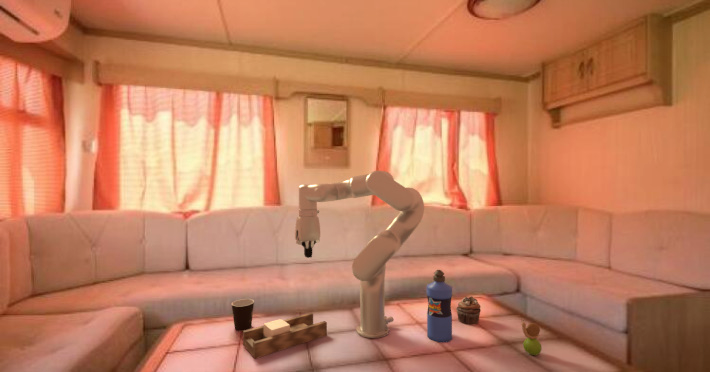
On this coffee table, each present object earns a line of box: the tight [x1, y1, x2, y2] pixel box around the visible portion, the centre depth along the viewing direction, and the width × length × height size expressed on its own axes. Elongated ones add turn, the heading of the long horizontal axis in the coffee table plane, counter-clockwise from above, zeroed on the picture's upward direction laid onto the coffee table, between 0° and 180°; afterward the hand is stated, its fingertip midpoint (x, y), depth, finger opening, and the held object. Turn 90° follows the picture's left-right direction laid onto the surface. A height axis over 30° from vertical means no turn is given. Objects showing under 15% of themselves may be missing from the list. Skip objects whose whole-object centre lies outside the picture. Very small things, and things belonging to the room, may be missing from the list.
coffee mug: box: [231, 298, 255, 332], centre depth 136 cm, size 12×9×10 cm
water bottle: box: [426, 269, 453, 343], centre depth 125 cm, size 9×9×25 cm
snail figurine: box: [520, 318, 543, 356], centre depth 111 cm, size 5×6×12 cm
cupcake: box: [455, 296, 481, 326], centre depth 139 cm, size 10×10×10 cm
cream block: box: [263, 318, 290, 338], centre depth 120 cm, size 7×7×4 cm
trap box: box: [242, 312, 328, 359], centre depth 123 cm, size 28×12×5 cm, turn 127°
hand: (308, 257), depth 140 cm, fingers closed
